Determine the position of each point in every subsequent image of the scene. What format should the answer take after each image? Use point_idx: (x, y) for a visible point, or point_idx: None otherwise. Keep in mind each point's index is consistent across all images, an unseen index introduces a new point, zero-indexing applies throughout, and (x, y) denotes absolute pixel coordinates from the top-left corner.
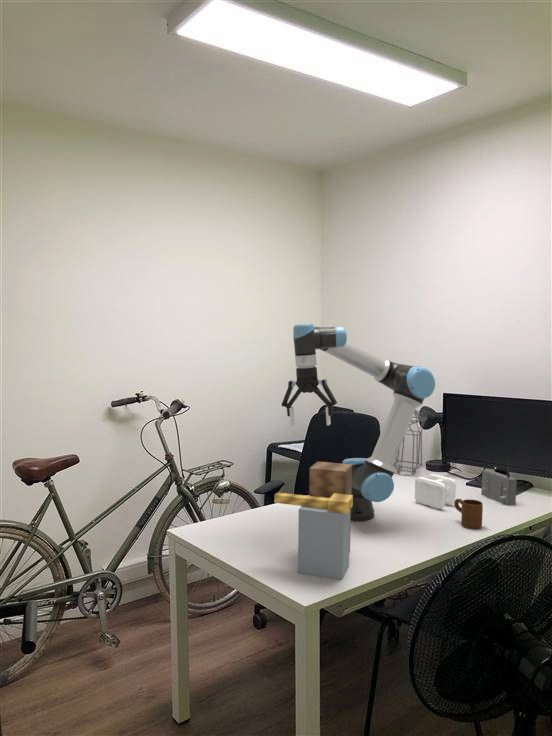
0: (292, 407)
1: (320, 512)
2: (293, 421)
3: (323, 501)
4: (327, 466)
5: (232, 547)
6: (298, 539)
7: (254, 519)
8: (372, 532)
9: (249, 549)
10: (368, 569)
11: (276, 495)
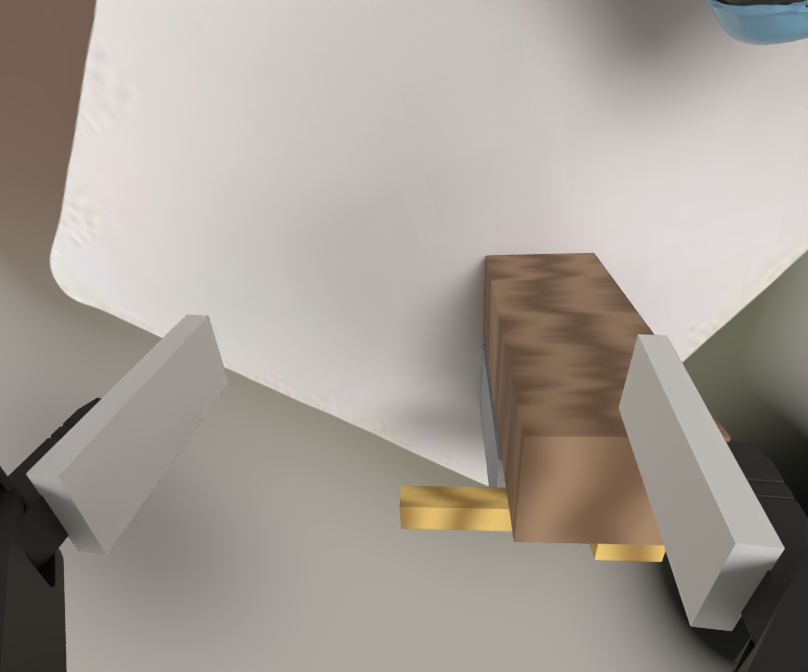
0: (78, 511)
1: None
2: (198, 372)
3: None
4: (593, 501)
5: (274, 334)
6: (486, 463)
7: (188, 77)
8: (678, 24)
9: (320, 331)
10: None
11: (408, 528)
